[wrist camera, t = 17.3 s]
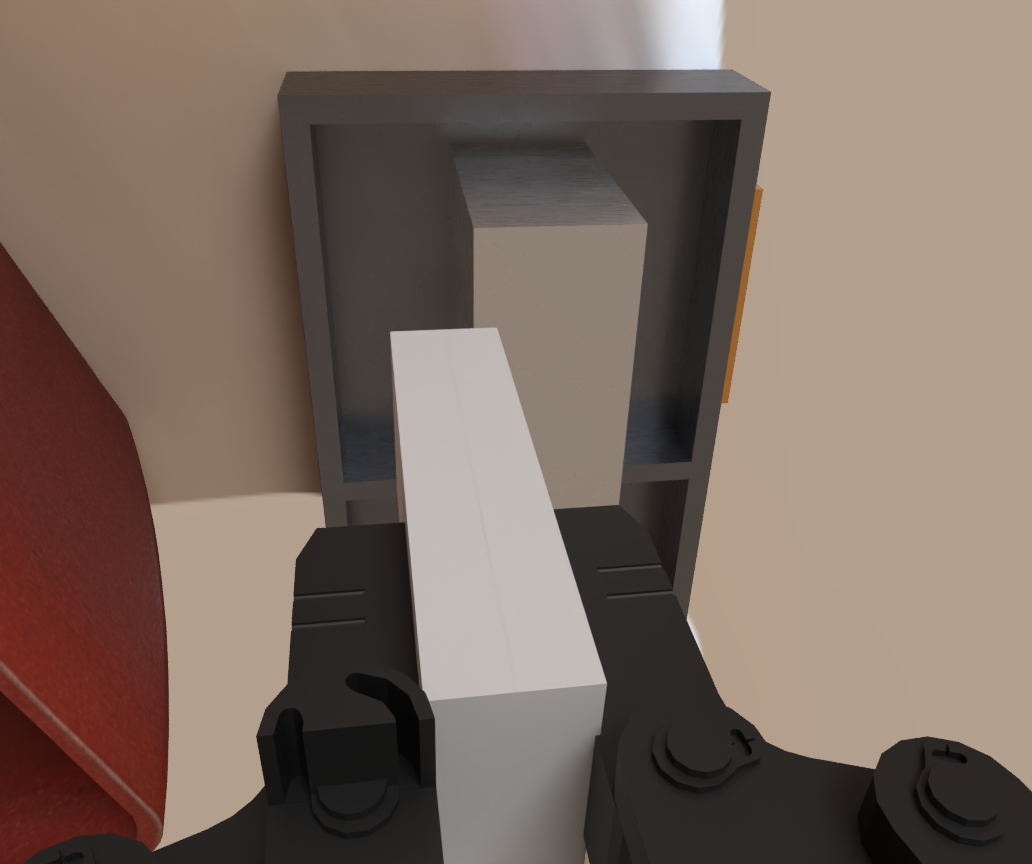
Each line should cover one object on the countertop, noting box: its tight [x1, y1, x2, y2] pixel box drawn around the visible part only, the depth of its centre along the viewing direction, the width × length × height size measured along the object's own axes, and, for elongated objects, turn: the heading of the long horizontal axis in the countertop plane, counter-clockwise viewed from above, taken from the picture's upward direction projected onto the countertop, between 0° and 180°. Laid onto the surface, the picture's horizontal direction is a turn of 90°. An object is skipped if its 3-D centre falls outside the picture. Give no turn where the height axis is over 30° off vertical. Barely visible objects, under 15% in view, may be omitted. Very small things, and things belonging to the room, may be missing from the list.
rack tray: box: [278, 70, 771, 619], centre depth 36 cm, size 15×28×4 cm, turn 179°
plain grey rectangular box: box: [450, 143, 648, 509], centre depth 29 cm, size 4×10×8 cm, turn 179°
